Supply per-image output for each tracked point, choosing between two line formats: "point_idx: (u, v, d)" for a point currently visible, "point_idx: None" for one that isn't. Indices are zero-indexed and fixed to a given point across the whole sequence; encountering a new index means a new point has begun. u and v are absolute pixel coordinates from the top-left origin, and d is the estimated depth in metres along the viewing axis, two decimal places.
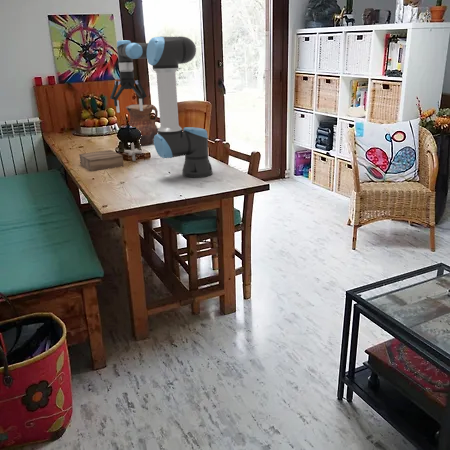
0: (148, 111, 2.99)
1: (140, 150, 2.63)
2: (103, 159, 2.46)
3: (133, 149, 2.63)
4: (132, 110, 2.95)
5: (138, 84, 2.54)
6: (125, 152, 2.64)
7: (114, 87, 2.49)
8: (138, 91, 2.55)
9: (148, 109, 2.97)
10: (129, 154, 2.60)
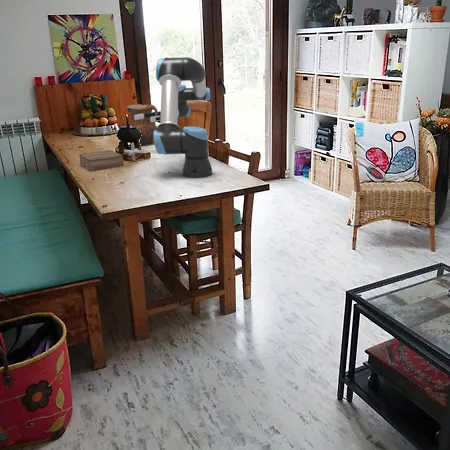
0: (148, 111, 2.99)
1: (140, 150, 2.63)
2: (103, 159, 2.46)
3: (133, 149, 2.63)
4: (132, 110, 2.95)
5: None
6: (125, 152, 2.64)
7: None
8: None
9: (148, 109, 2.97)
10: (129, 154, 2.60)
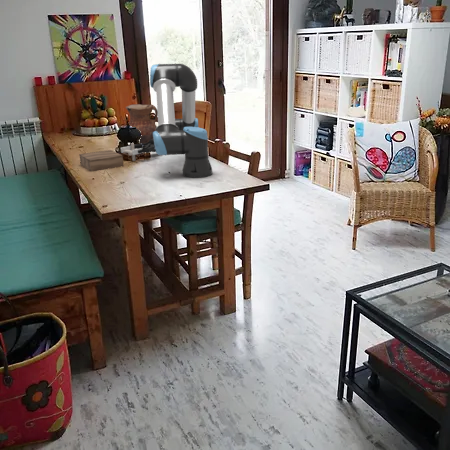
0: (148, 111, 2.99)
1: None
2: (103, 159, 2.46)
3: (133, 149, 2.63)
4: (132, 110, 2.95)
5: (153, 146, 2.67)
6: (125, 152, 2.64)
7: None
8: (146, 147, 2.65)
9: (148, 109, 2.97)
10: (129, 154, 2.60)
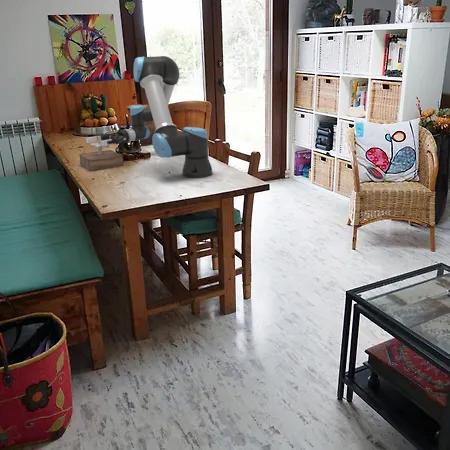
0: None
1: None
2: (103, 159, 2.46)
3: (100, 143, 2.51)
4: None
5: (121, 137, 2.55)
6: (91, 146, 2.52)
7: None
8: (115, 137, 2.53)
9: None
10: (95, 148, 2.48)
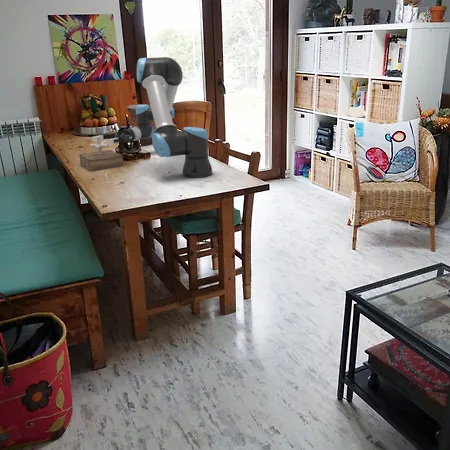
0: None
1: (107, 144, 2.51)
2: (103, 159, 2.46)
3: (99, 143, 2.51)
4: (132, 110, 2.95)
5: (127, 135, 2.58)
6: (91, 146, 2.52)
7: None
8: (122, 136, 2.56)
9: None
10: (95, 148, 2.48)
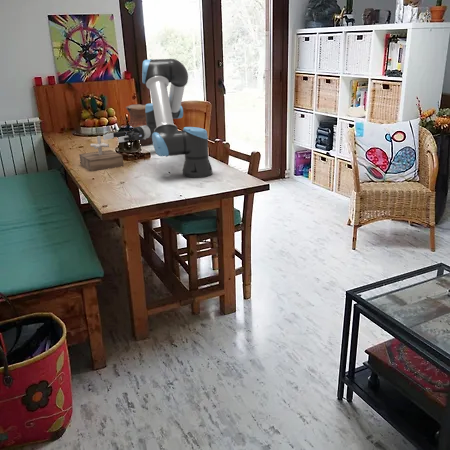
0: None
1: (107, 144, 2.51)
2: (103, 159, 2.46)
3: (99, 143, 2.51)
4: (132, 110, 2.95)
5: (137, 133, 2.63)
6: (91, 146, 2.53)
7: None
8: (132, 134, 2.61)
9: None
10: (95, 148, 2.48)
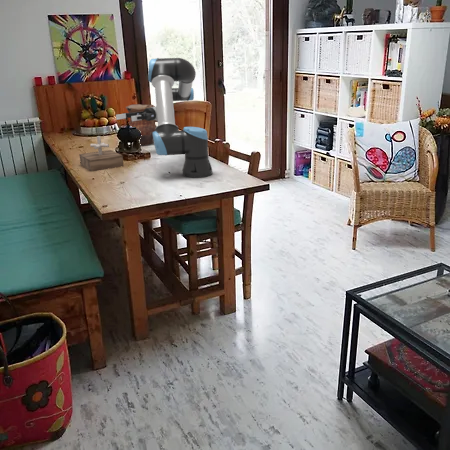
0: None
1: (107, 144, 2.51)
2: (103, 159, 2.46)
3: (99, 143, 2.51)
4: (132, 110, 2.95)
5: (149, 113, 2.67)
6: (91, 146, 2.52)
7: None
8: (144, 114, 2.65)
9: None
10: (95, 148, 2.48)
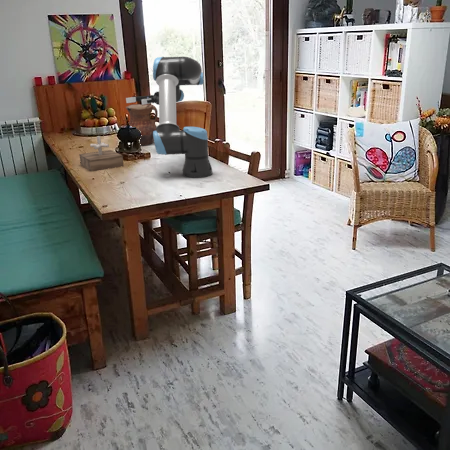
0: (148, 111, 2.99)
1: (107, 144, 2.51)
2: (103, 159, 2.46)
3: (99, 143, 2.51)
4: (132, 110, 2.95)
5: None
6: (91, 146, 2.52)
7: None
8: (154, 97, 2.66)
9: (148, 109, 2.97)
10: (95, 148, 2.48)
